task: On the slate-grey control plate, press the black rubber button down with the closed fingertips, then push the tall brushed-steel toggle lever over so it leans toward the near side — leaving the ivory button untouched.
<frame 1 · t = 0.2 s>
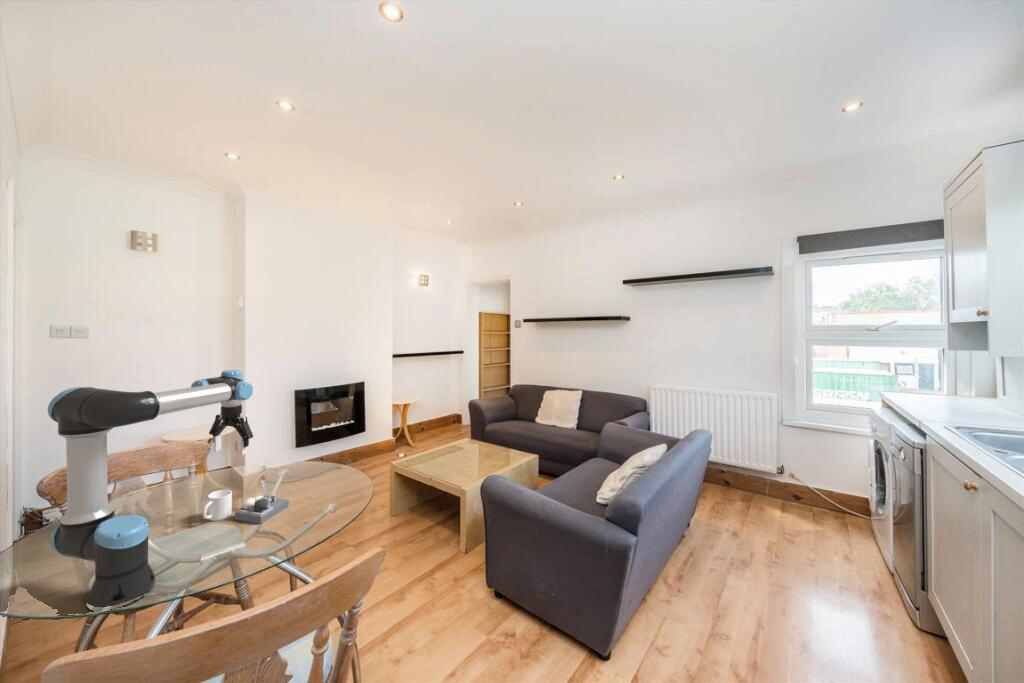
hand: (230, 452, 168), 27 cm above the table, fingers open, 13 cm apart
mug: (215, 519, 164), on the table
panel: (262, 512, 171), on the table
button black: (260, 505, 165), point 6 cm above the table, slide at 0.0 cm
button ivory: (248, 503, 166), point 6 cm above the table, slide at 0.0 cm
lever: (266, 489, 174), point 9 cm above the table, hinge at -25.0°
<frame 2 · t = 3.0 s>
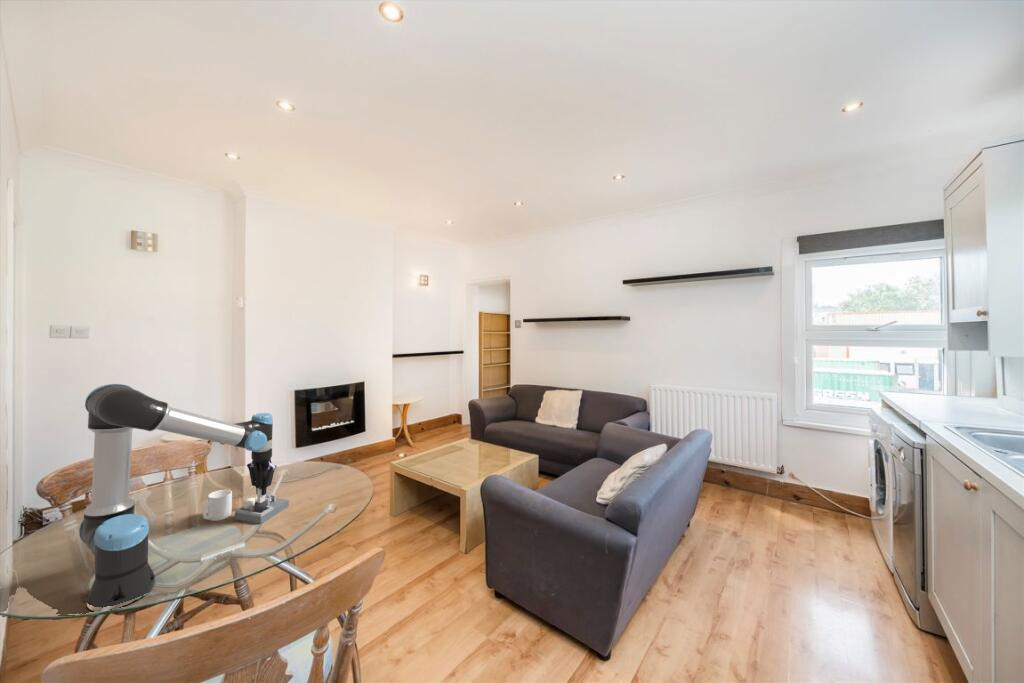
hand: (261, 501, 165), 8 cm above the table, fingers closed
button black: (260, 505, 165), point 6 cm above the table, slide at 0.3 cm, touching gripper
everything else where it was.
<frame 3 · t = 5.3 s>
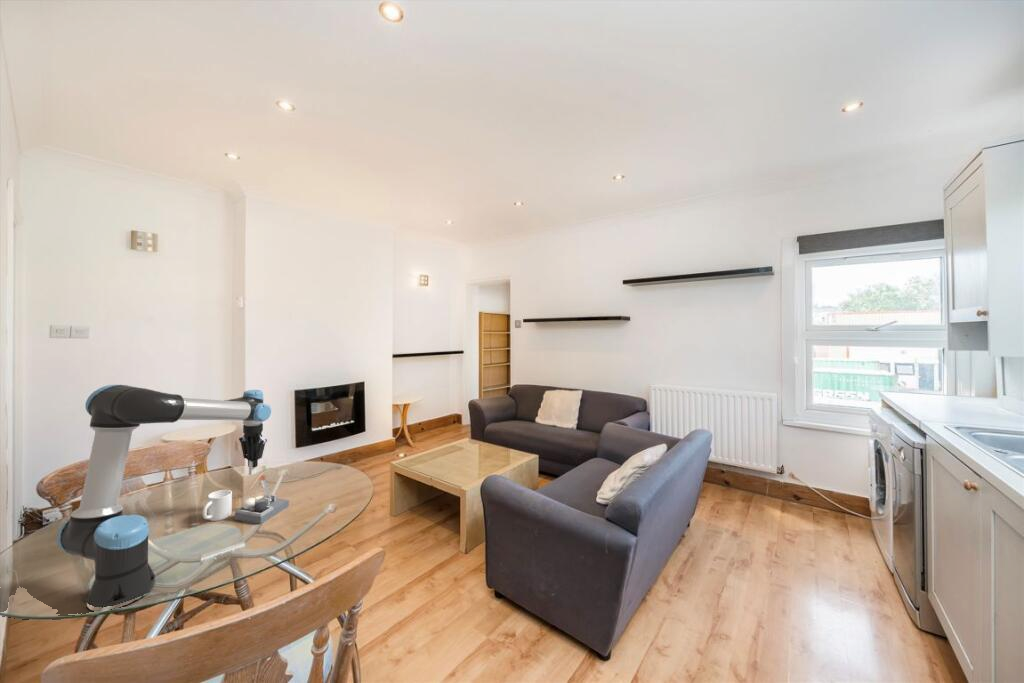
hand: (252, 473, 175), 15 cm above the table, fingers closed
button black: (260, 507, 165), point 5 cm above the table, slide at 1.1 cm
everything else where it was.
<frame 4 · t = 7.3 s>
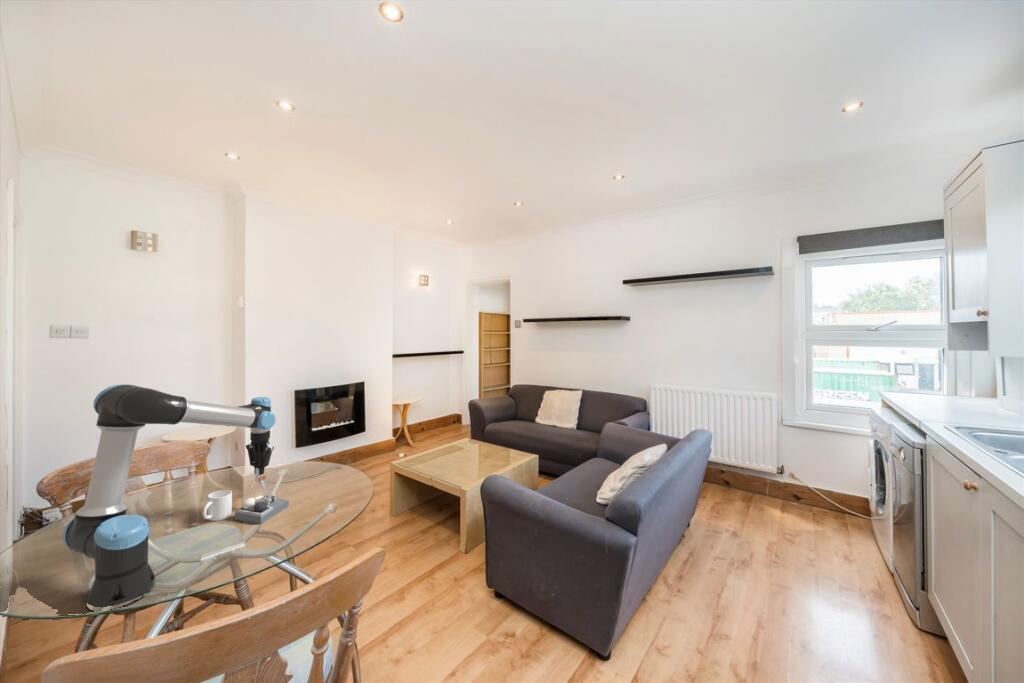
hand: (259, 480, 174), 12 cm above the table, fingers closed
lever: (266, 489, 174), point 9 cm above the table, hinge at -24.3°, touching gripper
everything else where it was.
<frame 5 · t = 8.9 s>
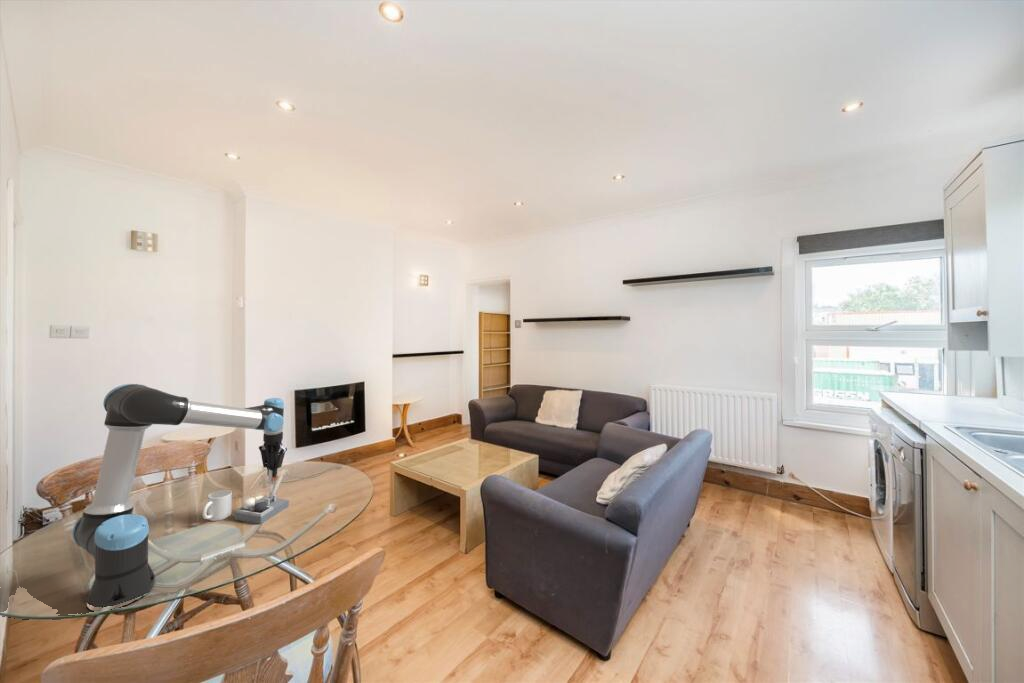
hand: (271, 482, 173), 13 cm above the table, fingers closed
lever: (272, 489, 173), point 10 cm above the table, hinge at 10.6°, touching gripper
everything else where it was.
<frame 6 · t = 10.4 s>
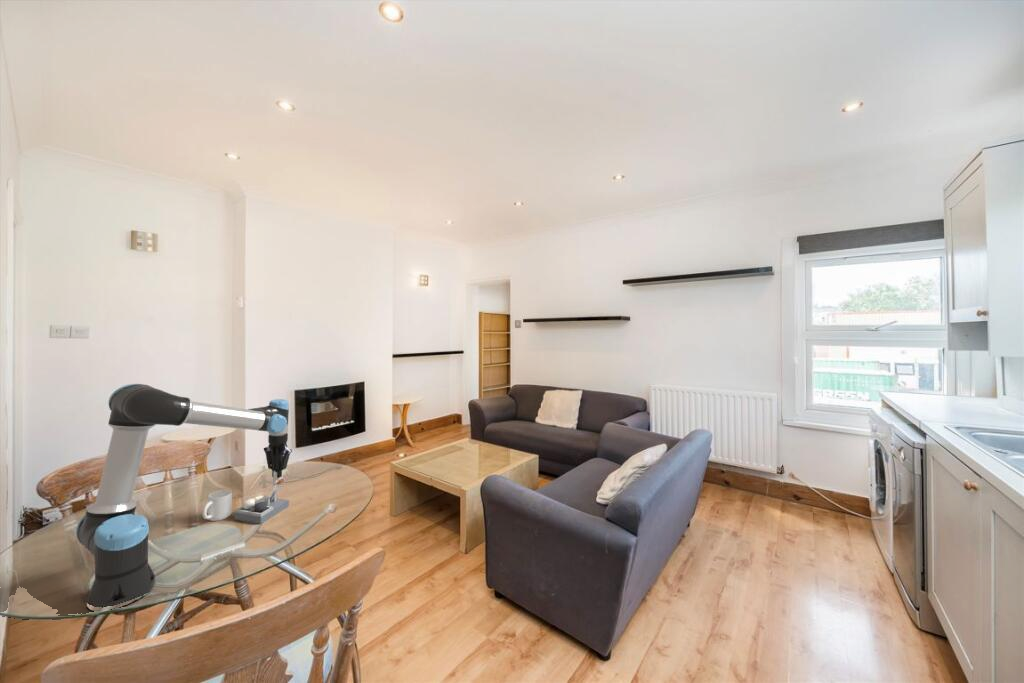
hand: (276, 484, 173), 12 cm above the table, fingers closed
lever: (275, 491, 173), point 9 cm above the table, hinge at 28.1°, touching gripper
everything else where it was.
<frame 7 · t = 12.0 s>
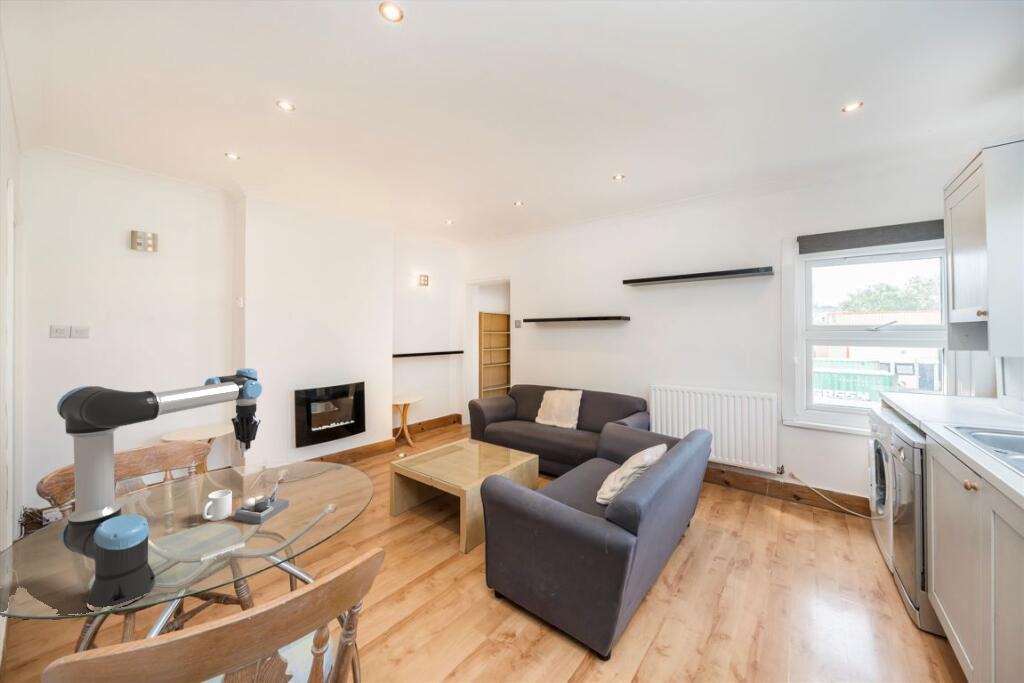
hand: (245, 455, 168), 26 cm above the table, fingers closed
lever: (275, 491, 173), point 9 cm above the table, hinge at 28.1°
everything else where it was.
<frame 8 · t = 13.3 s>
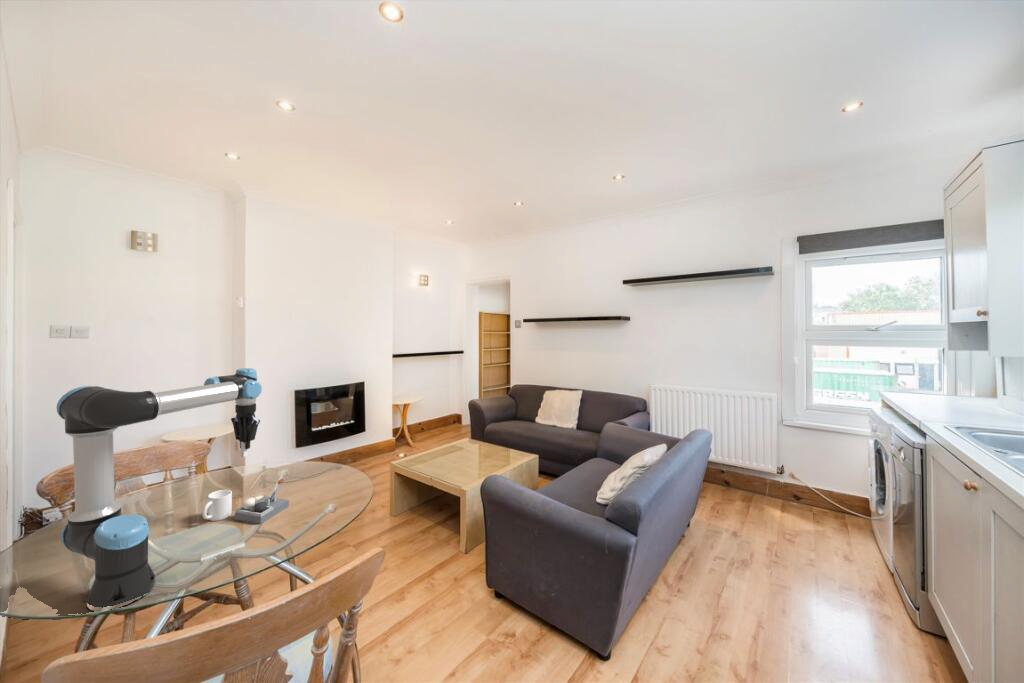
hand: (244, 455, 168), 26 cm above the table, fingers closed
nothing on the table moved.
at the end: button black slide at 1.1 cm; lever at +28° (first picture: -25°); button ivory slide at 0.0 cm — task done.
